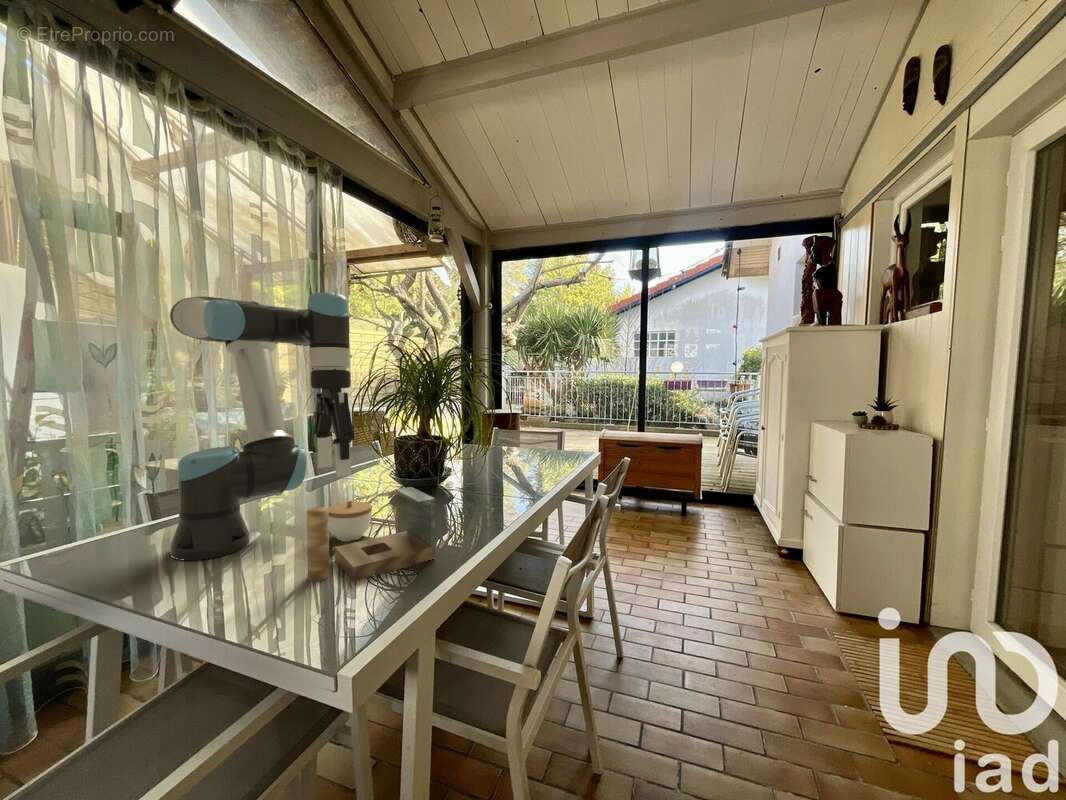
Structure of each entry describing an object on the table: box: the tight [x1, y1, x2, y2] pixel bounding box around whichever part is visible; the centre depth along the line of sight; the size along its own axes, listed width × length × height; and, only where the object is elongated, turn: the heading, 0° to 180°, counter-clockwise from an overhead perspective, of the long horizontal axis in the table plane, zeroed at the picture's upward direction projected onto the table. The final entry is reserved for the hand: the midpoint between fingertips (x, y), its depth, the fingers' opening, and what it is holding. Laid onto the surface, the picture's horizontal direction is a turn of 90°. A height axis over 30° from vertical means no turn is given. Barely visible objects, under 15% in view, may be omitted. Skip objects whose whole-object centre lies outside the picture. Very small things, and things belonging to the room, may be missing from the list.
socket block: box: [334, 486, 436, 582], centre depth 100 cm, size 18×13×14 cm
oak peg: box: [306, 506, 330, 582], centre depth 91 cm, size 4×4×14 cm
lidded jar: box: [327, 500, 373, 542], centre depth 113 cm, size 11×11×9 cm
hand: (333, 471), depth 92 cm, fingers open, 13 cm apart
